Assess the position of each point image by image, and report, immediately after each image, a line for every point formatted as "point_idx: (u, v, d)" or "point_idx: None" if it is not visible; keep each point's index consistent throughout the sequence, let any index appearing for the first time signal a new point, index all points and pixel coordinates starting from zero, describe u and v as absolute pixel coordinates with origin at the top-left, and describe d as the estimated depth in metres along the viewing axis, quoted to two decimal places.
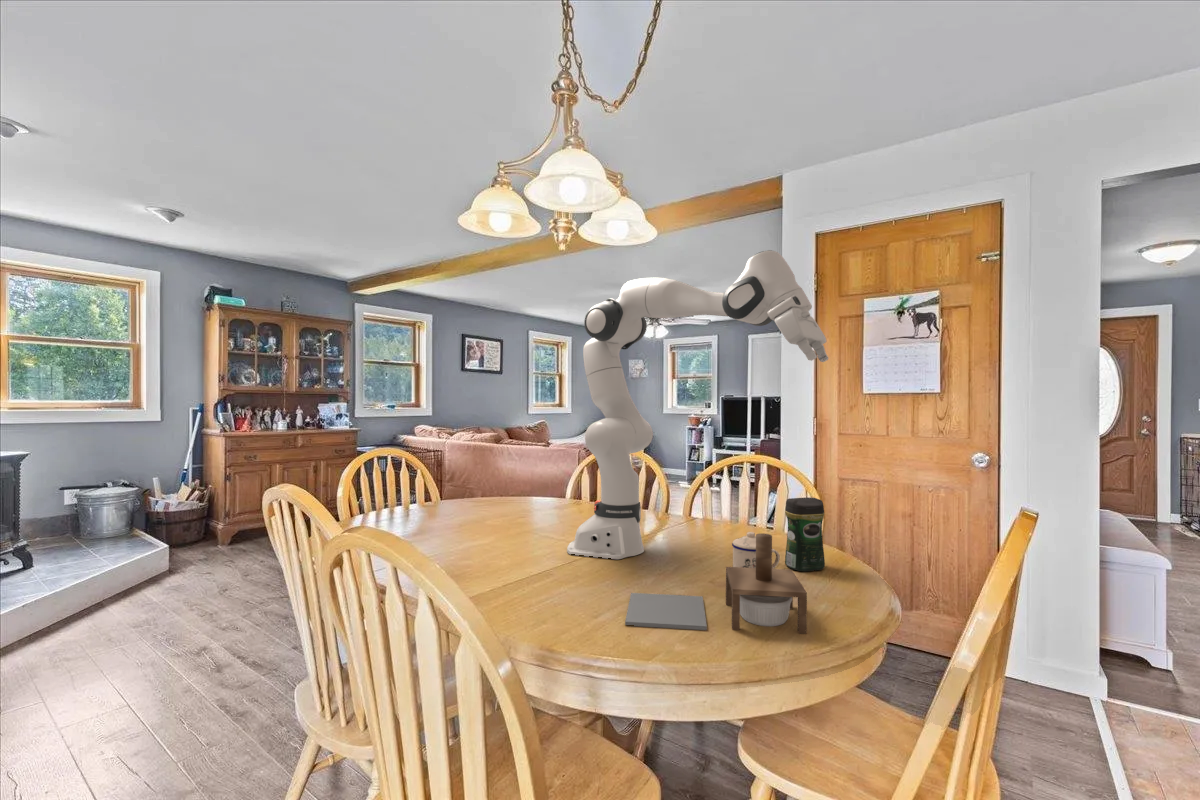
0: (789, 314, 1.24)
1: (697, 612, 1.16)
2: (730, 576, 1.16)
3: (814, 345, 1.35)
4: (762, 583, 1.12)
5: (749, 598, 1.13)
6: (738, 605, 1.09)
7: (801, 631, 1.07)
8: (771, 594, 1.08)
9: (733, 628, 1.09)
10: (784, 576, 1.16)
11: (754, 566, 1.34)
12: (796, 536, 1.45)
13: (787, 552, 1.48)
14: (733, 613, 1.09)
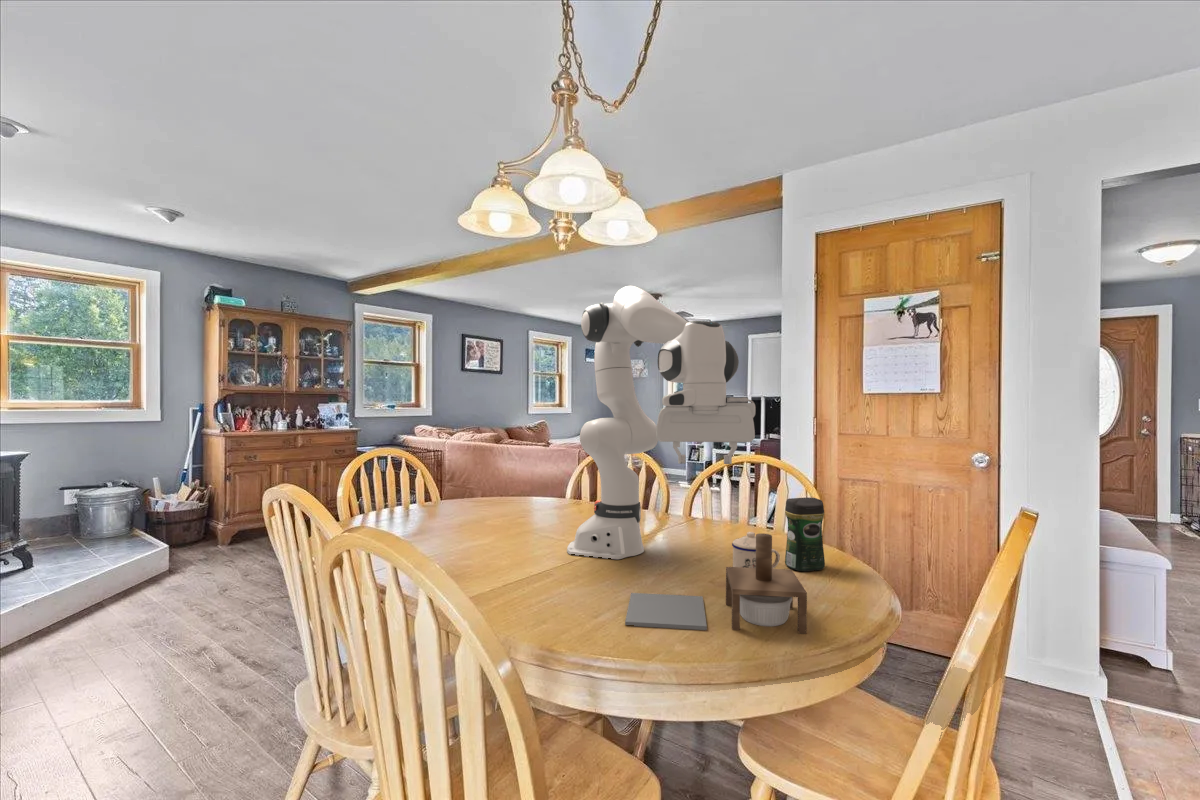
0: None
1: (697, 612, 1.16)
2: (730, 576, 1.16)
3: (729, 441, 1.16)
4: (762, 583, 1.12)
5: (749, 598, 1.13)
6: (738, 605, 1.09)
7: (801, 631, 1.07)
8: (771, 594, 1.08)
9: (733, 628, 1.09)
10: (784, 576, 1.16)
11: (754, 566, 1.34)
12: (796, 536, 1.45)
13: (787, 552, 1.48)
14: (733, 613, 1.09)
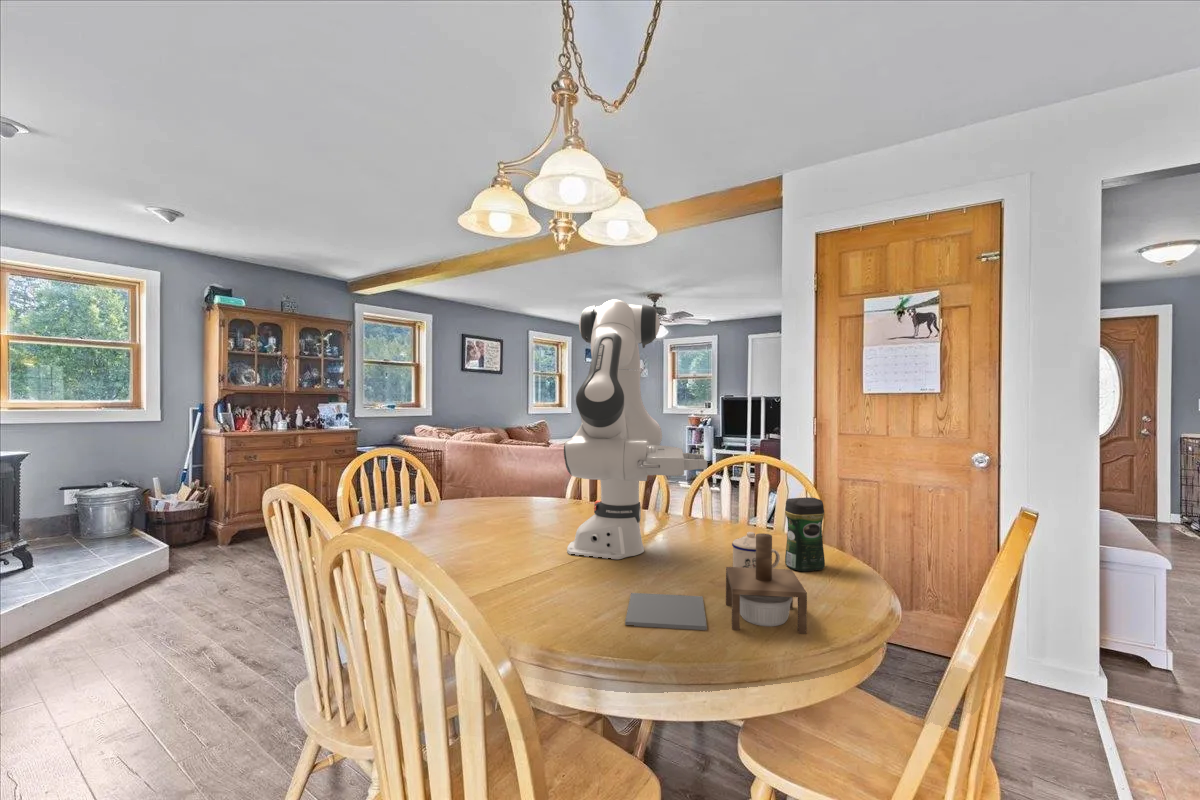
0: None
1: (697, 612, 1.16)
2: (730, 576, 1.16)
3: None
4: (762, 583, 1.12)
5: (749, 598, 1.13)
6: (738, 605, 1.09)
7: (801, 631, 1.07)
8: (771, 594, 1.08)
9: (733, 628, 1.09)
10: (784, 576, 1.16)
11: (754, 566, 1.34)
12: (796, 536, 1.45)
13: (787, 552, 1.48)
14: (733, 613, 1.09)
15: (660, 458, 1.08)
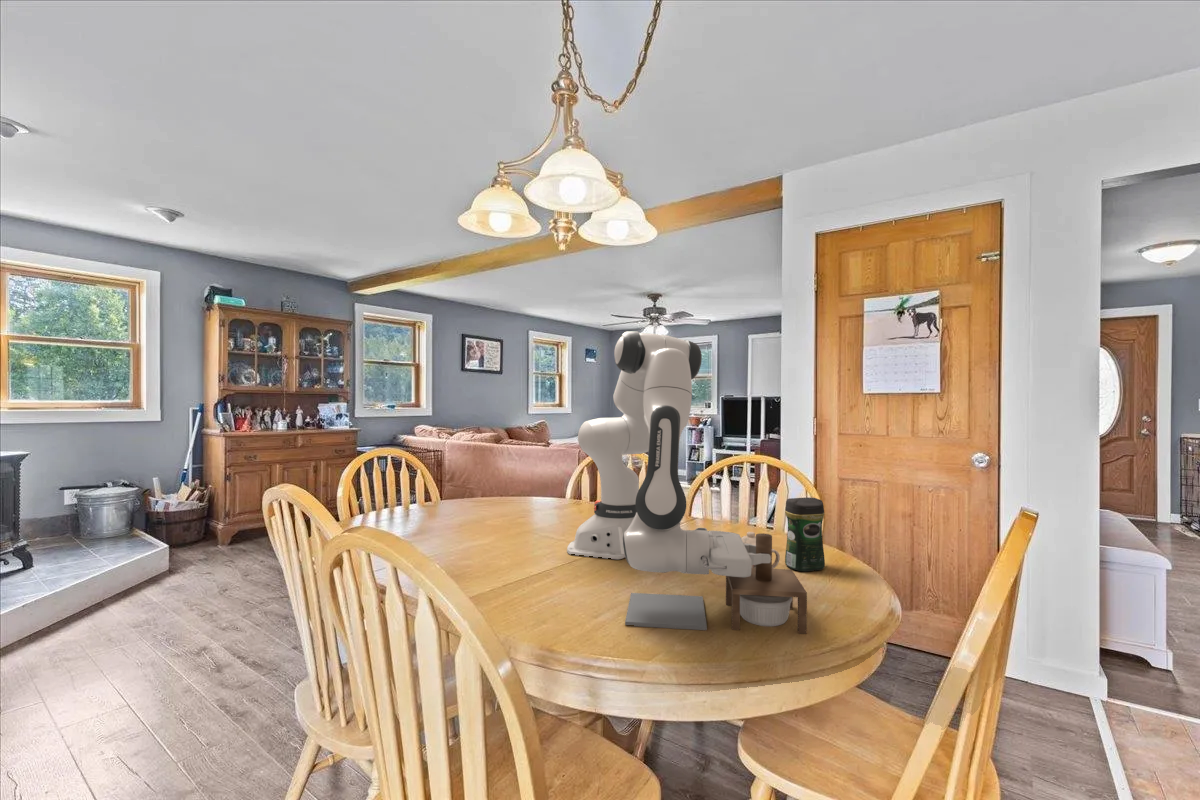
0: None
1: (697, 612, 1.16)
2: (730, 576, 1.16)
3: None
4: (762, 583, 1.12)
5: (749, 598, 1.13)
6: (738, 605, 1.09)
7: (801, 631, 1.07)
8: (771, 594, 1.08)
9: (733, 628, 1.09)
10: (784, 576, 1.16)
11: (754, 566, 1.34)
12: (796, 536, 1.45)
13: (787, 552, 1.48)
14: (733, 613, 1.09)
15: (727, 559, 1.07)
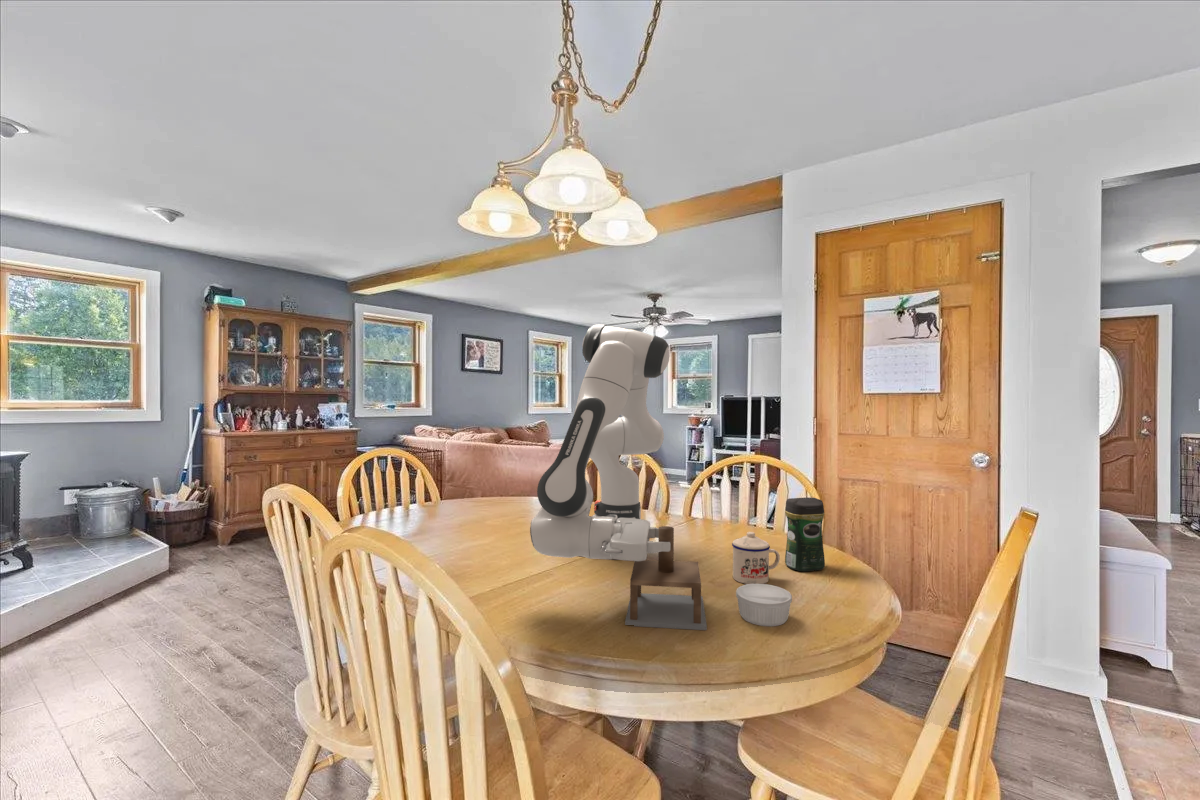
0: None
1: None
2: (634, 568, 1.19)
3: None
4: (662, 575, 1.15)
5: (749, 598, 1.13)
6: (635, 596, 1.12)
7: (696, 621, 1.10)
8: (667, 585, 1.11)
9: (631, 618, 1.12)
10: (687, 568, 1.19)
11: (754, 566, 1.34)
12: (796, 536, 1.45)
13: (787, 552, 1.48)
14: (631, 603, 1.12)
15: (623, 543, 1.09)
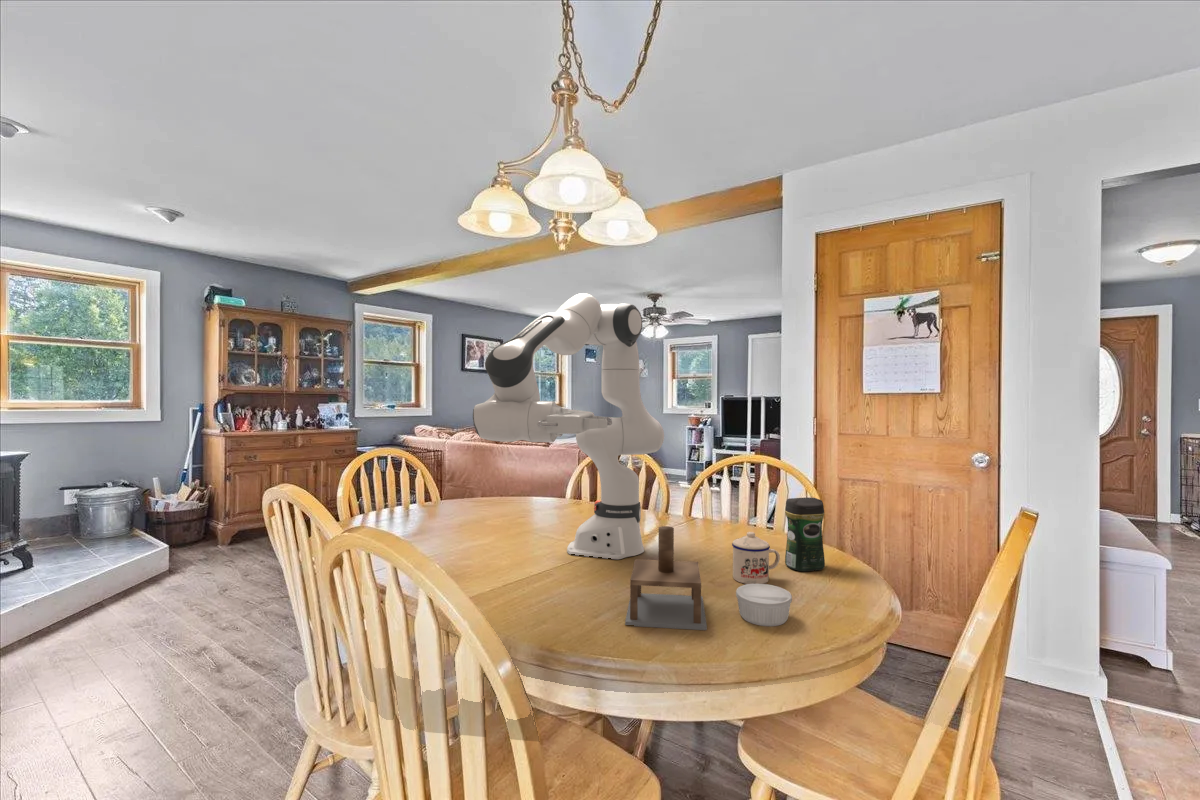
0: None
1: None
2: (634, 568, 1.19)
3: None
4: (662, 575, 1.15)
5: (749, 598, 1.13)
6: (635, 596, 1.12)
7: (696, 621, 1.10)
8: (667, 585, 1.11)
9: (631, 618, 1.12)
10: (687, 568, 1.19)
11: (754, 566, 1.34)
12: (796, 536, 1.45)
13: (787, 552, 1.48)
14: (631, 603, 1.12)
15: (558, 416, 1.10)
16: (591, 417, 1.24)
